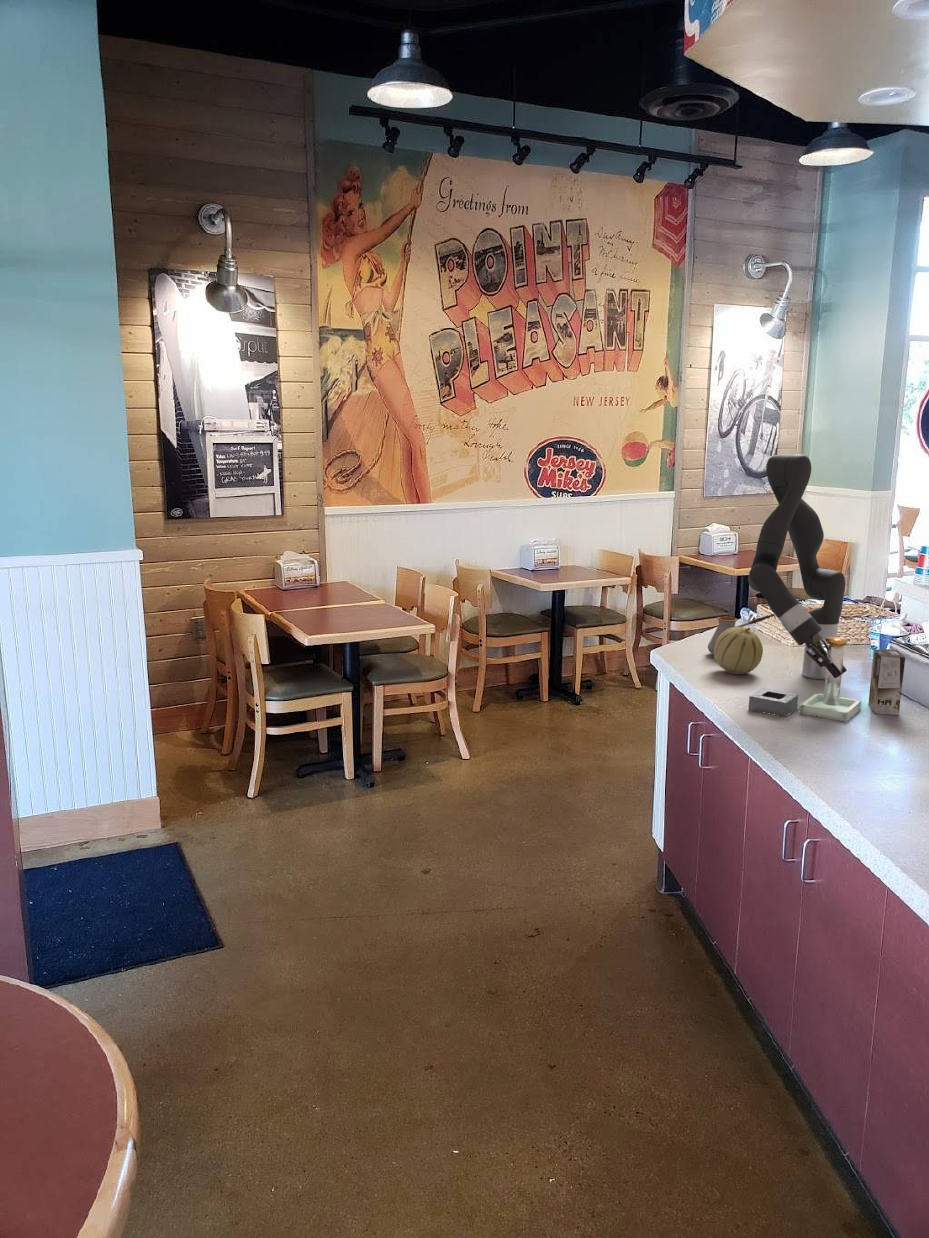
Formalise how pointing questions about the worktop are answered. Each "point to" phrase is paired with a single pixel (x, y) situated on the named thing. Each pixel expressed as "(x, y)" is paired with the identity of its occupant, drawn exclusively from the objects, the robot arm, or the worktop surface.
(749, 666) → the cantaloupe
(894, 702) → the coffee box
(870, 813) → the worktop surface
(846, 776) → the worktop surface
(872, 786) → the worktop surface
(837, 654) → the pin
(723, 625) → the coffee pot
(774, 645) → the worktop surface
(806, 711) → the tray
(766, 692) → the socket block
